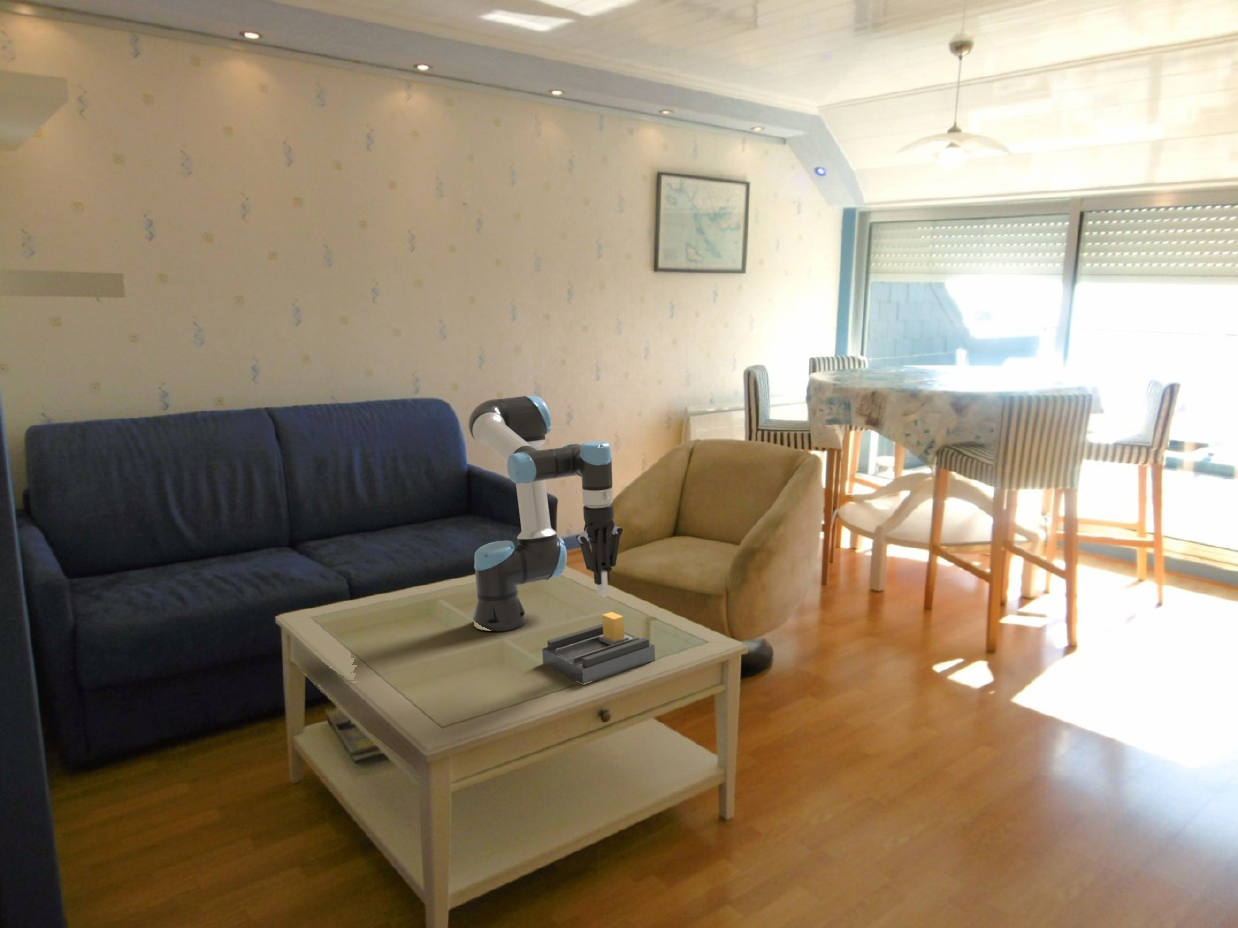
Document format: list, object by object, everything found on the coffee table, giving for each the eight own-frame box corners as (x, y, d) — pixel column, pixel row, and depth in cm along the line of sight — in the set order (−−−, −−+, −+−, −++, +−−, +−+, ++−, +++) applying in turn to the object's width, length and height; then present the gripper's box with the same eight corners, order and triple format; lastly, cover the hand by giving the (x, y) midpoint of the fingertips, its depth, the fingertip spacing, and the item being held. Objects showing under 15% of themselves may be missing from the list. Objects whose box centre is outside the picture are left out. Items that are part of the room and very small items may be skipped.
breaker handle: (599, 639, 225) (597, 615, 224) (614, 634, 228) (613, 610, 227) (613, 646, 220) (611, 620, 219) (628, 641, 223) (627, 615, 222)
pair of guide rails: (547, 647, 223) (547, 640, 222) (608, 628, 234) (607, 622, 233) (586, 667, 209) (586, 660, 208) (649, 646, 220) (648, 639, 220)
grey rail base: (543, 663, 223) (541, 644, 222) (612, 641, 235) (611, 623, 235) (583, 685, 208) (582, 665, 207) (655, 660, 221) (654, 641, 220)
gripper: (585, 511, 210) (590, 605, 214) (628, 502, 217) (632, 593, 222) (567, 506, 216) (572, 598, 220) (610, 497, 223) (614, 586, 228)
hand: (602, 595), depth 221 cm, fingers closed
